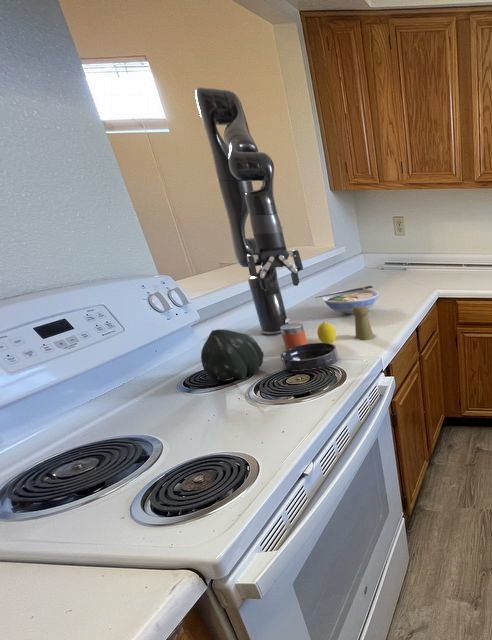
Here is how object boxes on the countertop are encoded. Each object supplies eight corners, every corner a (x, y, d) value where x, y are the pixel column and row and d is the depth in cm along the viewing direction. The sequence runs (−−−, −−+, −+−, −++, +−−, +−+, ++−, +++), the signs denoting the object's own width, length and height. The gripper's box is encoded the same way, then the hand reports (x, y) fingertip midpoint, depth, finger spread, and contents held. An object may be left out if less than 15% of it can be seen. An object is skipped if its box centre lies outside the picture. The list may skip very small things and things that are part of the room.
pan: (276, 364, 124) (272, 352, 122) (325, 351, 134) (322, 339, 132) (296, 378, 114) (292, 365, 113) (347, 362, 124) (344, 350, 122)
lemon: (321, 349, 135) (316, 325, 132) (319, 344, 140) (314, 321, 137) (339, 346, 138) (334, 322, 134) (336, 341, 142) (332, 318, 139)
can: (283, 353, 133) (276, 326, 129) (304, 347, 137) (297, 321, 133) (291, 358, 129) (284, 330, 125) (312, 352, 133) (306, 325, 129)
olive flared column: (368, 340, 142) (363, 309, 137) (352, 339, 143) (346, 308, 139) (376, 334, 147) (371, 304, 143) (361, 334, 148) (355, 303, 144)
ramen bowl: (335, 324, 161) (331, 303, 158) (315, 313, 177) (310, 294, 173) (393, 311, 176) (391, 292, 172) (369, 302, 192) (367, 284, 188)
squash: (272, 343, 125) (222, 312, 116) (273, 361, 113) (218, 328, 104) (241, 378, 125) (189, 350, 116) (239, 400, 113) (180, 371, 104)
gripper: (288, 228, 125) (300, 282, 132) (235, 232, 116) (251, 290, 123) (298, 229, 120) (310, 285, 127) (244, 234, 111) (260, 294, 118)
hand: (281, 287), depth 125 cm, fingers open, 8 cm apart
